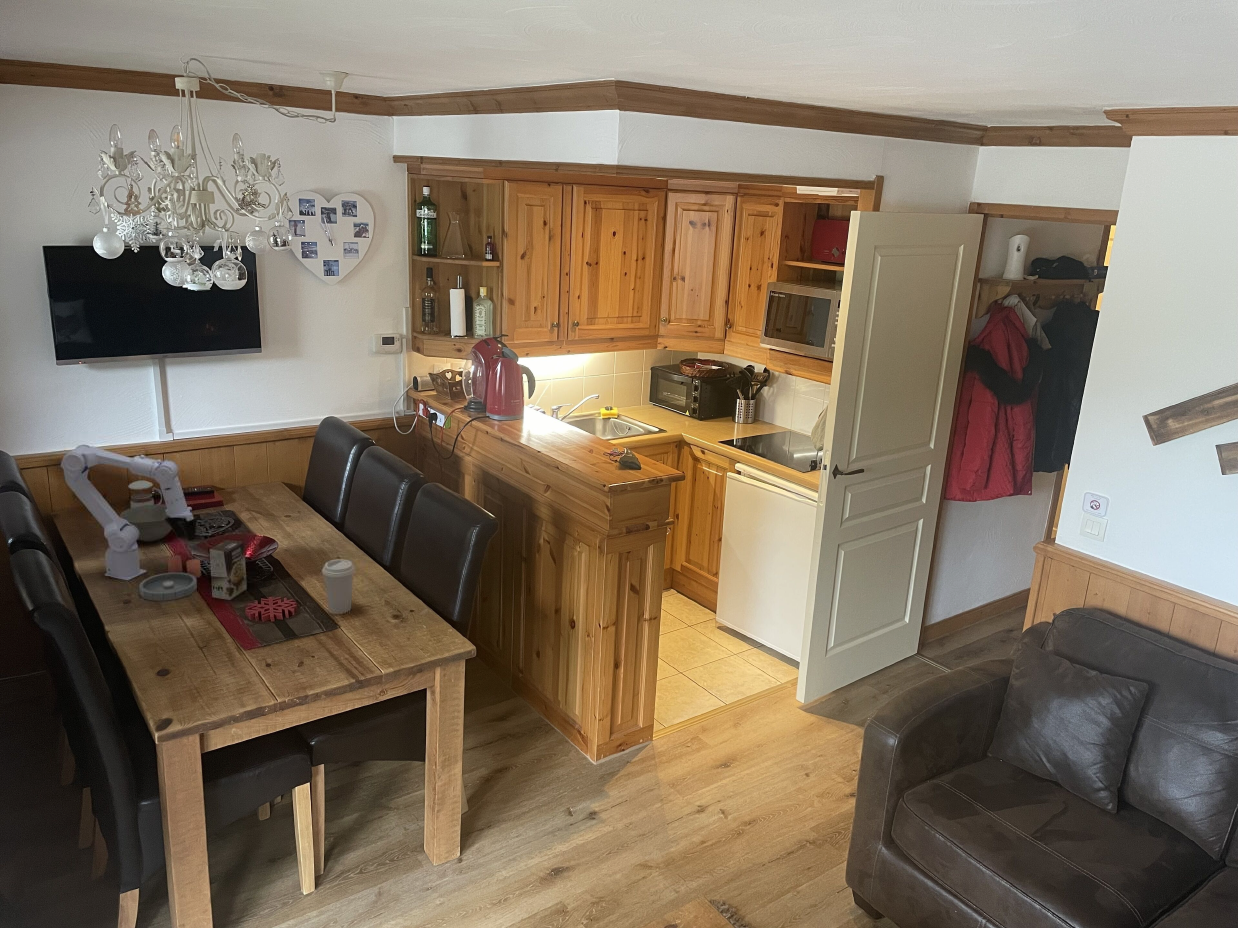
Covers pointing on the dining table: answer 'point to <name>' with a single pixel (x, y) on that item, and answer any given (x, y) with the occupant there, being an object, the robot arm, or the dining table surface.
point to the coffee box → (228, 569)
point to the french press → (142, 494)
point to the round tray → (168, 594)
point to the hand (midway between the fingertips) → (186, 537)
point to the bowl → (148, 521)
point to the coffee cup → (338, 585)
